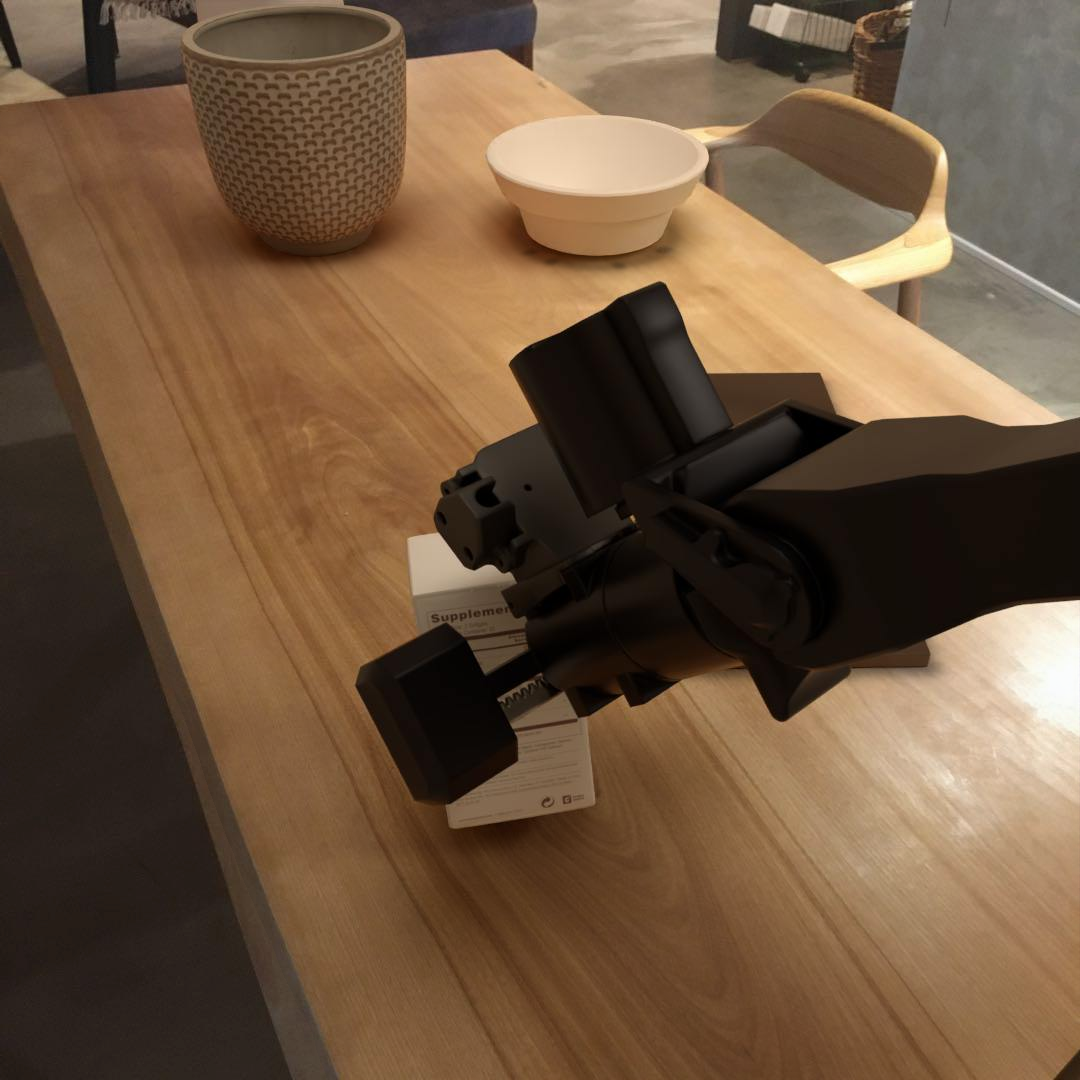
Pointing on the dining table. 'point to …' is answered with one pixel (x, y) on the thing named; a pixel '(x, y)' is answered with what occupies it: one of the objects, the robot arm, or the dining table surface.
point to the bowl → (596, 179)
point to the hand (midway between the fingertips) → (494, 662)
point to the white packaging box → (544, 734)
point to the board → (765, 390)
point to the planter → (302, 119)
